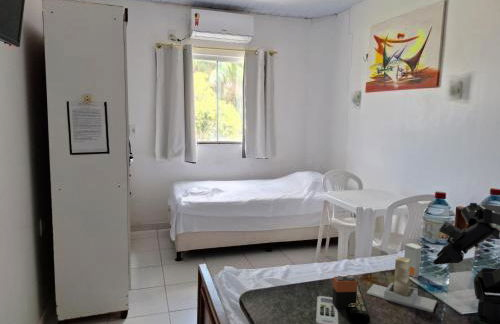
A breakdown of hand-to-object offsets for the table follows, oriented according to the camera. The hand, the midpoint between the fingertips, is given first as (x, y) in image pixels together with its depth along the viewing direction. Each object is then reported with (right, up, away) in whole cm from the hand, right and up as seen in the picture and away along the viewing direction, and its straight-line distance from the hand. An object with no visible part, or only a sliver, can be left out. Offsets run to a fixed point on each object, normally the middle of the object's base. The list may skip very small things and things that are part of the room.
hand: (435, 259), depth 125 cm
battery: (-35, -13, -9) cm, 38 cm away
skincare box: (0, -11, +18) cm, 21 cm away
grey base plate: (-14, -13, -3) cm, 19 cm away
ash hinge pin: (-14, -13, -3) cm, 19 cm away
